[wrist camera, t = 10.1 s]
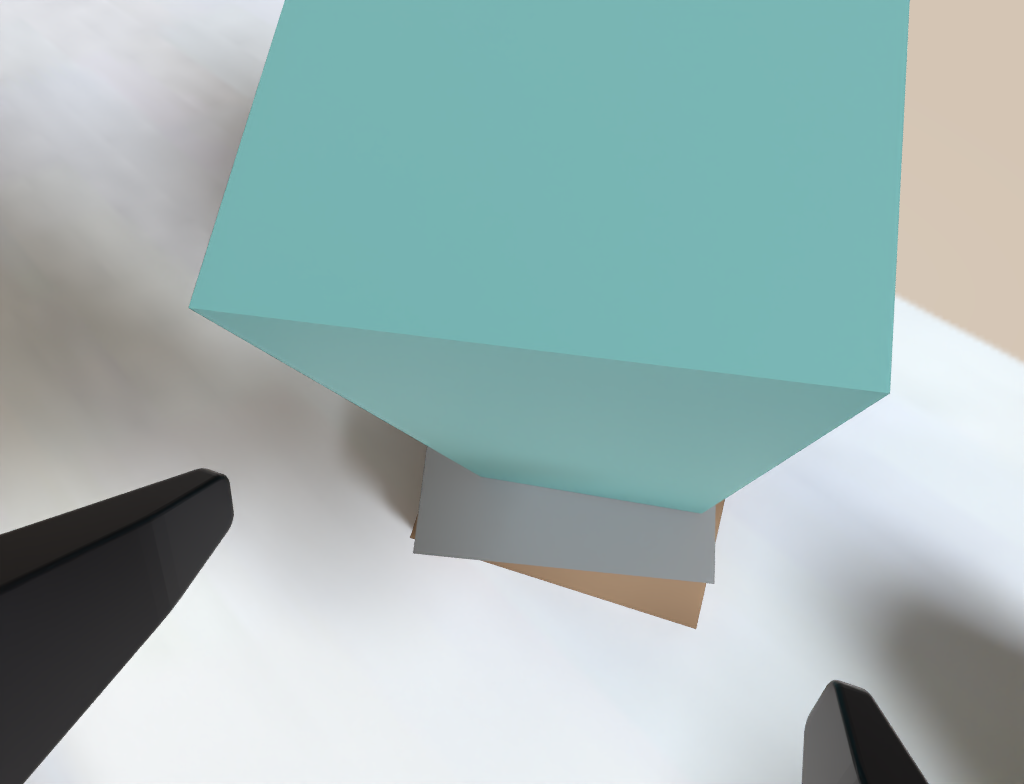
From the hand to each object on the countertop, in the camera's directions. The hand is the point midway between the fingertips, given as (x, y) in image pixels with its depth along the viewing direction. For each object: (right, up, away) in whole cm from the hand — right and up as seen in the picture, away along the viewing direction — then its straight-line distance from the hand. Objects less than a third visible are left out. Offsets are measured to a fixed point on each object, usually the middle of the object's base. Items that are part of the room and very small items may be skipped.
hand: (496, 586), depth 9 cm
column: (+3, +3, +9) cm, 10 cm away
